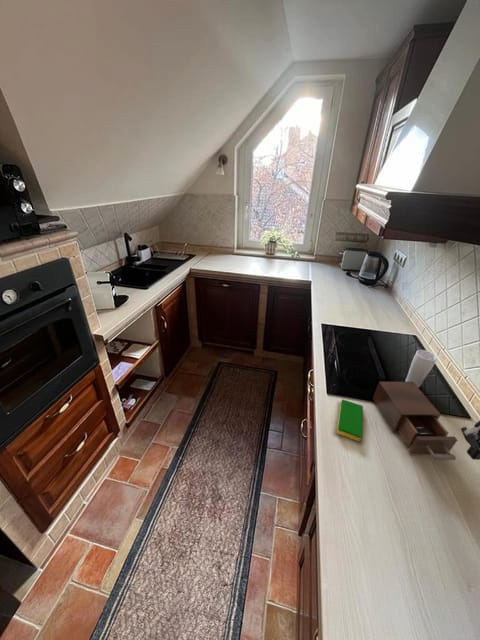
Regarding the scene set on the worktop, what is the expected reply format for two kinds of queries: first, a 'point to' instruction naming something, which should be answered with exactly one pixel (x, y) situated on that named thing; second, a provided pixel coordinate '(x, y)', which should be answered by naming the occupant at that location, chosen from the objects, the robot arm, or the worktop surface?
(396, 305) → the worktop surface
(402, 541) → the worktop surface
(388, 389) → the cabinet
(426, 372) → the drinking glass
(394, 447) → the worktop surface
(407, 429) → the drawer
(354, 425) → the dish sponge
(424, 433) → the clip
